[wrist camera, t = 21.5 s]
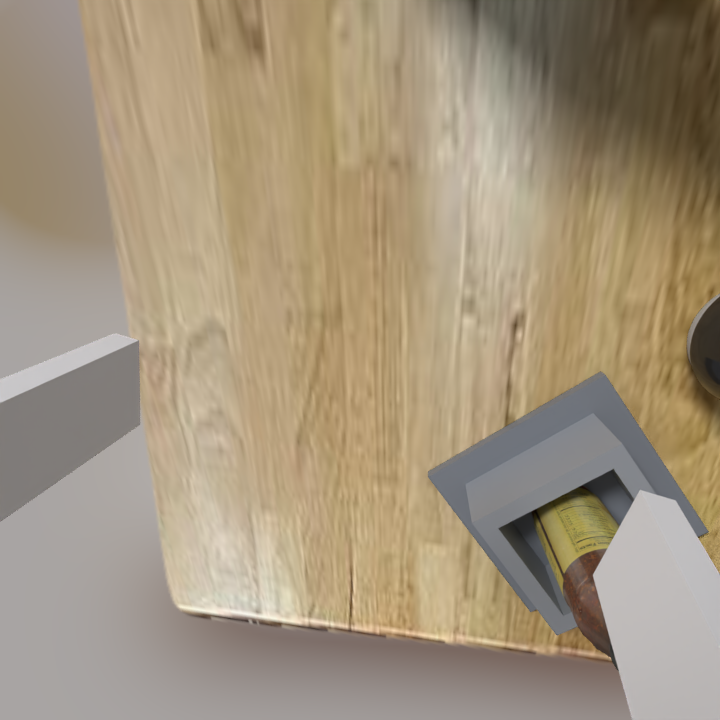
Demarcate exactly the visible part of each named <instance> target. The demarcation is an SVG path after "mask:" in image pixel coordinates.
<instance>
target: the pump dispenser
mask: <svg viewBox="0 0 720 720" xmlns="http://www.w3.org/2000/svg"><path fill="white" fill-rule="evenodd" d="M687 353H688V358H689V361H690V363H691V366H692V369H693V372H694V374H695V376H696V378H697V380H698V381H699V383H700V384H701V385H702V386H703V388H704V389H705V390H706V391H708V392H709V393H710V394H711V395H713V396H714V397H716V398H717V399H719V400H720V294H718V295H717V296H715V297H714V298H713V299H711V300H710V301H709V302H708V303H707V304H706V305H705V306H704V307H703V308H702V309H701V310H700V311H699V312H698V314H697V315H696V317H695V318H694V320H693V322H692V324H691V327H690V329H689V332H688V337H687Z"/></svg>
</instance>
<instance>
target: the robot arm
mask: <svg viewBox="0 0 720 720" xmlns="http://www.w3.org/2000/svg"><path fill="white" fill-rule="evenodd" d="M139 425H140V376H139V340H136V339H133V338H130V337H126V336H123V335H119V334H116V333H114V334H112V335H109V336H107V337H104V338H102V339H99V340H97V341H94V342H92V343H89V344H87V345H85V346H82V347H79V348H77V349H74V350H72V351H69V352H67V353H65V354H62V355H59V356H58V357H54V358H52V359H50V360H47V361H45V362H42V363H40V364H37V365H35V366H32V367H30V368H27V369H25V370H23V371H20V372H17V373H15V374H12V375H10V376H7V377H5V378H3V379H0V521H2V520H3V519H5V518H6V517H8V516H9V515H11V514H12V513H13V512H15V511H16V510H18V509H19V508H21V507H22V506H24V505H25V504H26V503H28V502H29V501H31V500H32V499H34V498H35V497H37V496H38V495H39V494H41V493H42V492H43V491H45V490H46V489H48V488H49V487H51V486H52V485H54V484H55V483H57V482H58V481H59V480H61V479H62V478H64V477H65V476H66V475H68V474H70V473H71V472H72V471H74V470H75V469H77V468H78V467H80V466H81V465H83V464H84V463H85V462H87V461H88V460H89V459H91V458H93V457H94V456H96V455H97V454H98V453H100V452H101V451H102V450H104V449H106V448H107V447H108V446H110V445H111V444H113V443H114V442H116V441H117V440H118V439H120V438H121V437H123V436H124V435H126V434H127V433H128V432H130V431H131V430H133V429H134V428H135V427H137V426H139ZM593 578H594V581H595V585H596V589H597V593H598V596H599V600H600V604H601V607H602V611H603V615H604V618H605V622H606V626H607V629H608V633H609V637H610V640H611V644H612V648H613V651H614V655H615V659H616V662H617V666H618V670H619V674H620V677H621V680H622V684H623V688H624V692H625V696H626V699H627V703H628V707H629V710H630V714H631V718H632V720H720V574H719V572H718V571H717V569H716V567H715V566H714V564H713V562H712V561H711V559H710V557H709V556H708V554H707V552H706V550H705V549H704V547H703V545H702V544H701V542H700V540H699V539H698V537H697V535H696V534H695V532H694V530H693V529H692V527H691V525H690V524H689V522H688V520H687V519H686V517H685V515H684V514H683V512H682V510H681V509H680V507H679V505H678V504H677V502H676V500H672V499H669V498H666V497H662V496H659V495H656V494H652V493H649V492H646V491H642V490H640V491H639V492H638V494H637V496H636V498H635V500H634V501H633V503H632V505H631V507H630V509H629V511H628V512H627V514H626V516H625V518H624V520H623V521H622V523H621V525H620V527H619V529H618V530H617V532H616V534H615V536H614V538H613V539H612V541H611V543H610V545H609V547H608V548H607V550H606V552H605V554H604V556H603V558H602V559H601V561H600V563H599V565H598V567H597V568H596V570H595V572H594V574H593Z"/></svg>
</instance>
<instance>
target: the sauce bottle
mask: <svg viewBox="0 0 720 720" xmlns="http://www.w3.org/2000/svg"><path fill="white" fill-rule="evenodd" d="M532 516H533V520H534V527H535V530H536V532H537V535H538V537H539V539H540V542H541V544H542V546H543V549H544V551H545V554H546V556H547V558H548V561H549V563H550V565H551V568H552V570H553V573H554V575H555V577H556V580H557V582H558V585H559V587H560V589H561V592H562V594H563V596H564V599H565V601H566V603H567V605H568V606H569V607H570V609H571V612H572V614H573V616H574V619H575V622H576V624H577V626H578V627H579V629H580V630H581V632H582V634H583V635H584V636H585V637H586V638H587V639H588V640H589V641H590V642H591V643H592V644H593V645H594V646H595V647H596V649H598V650H600V651H601V652H603V653H605V654H607V655H608V656H609V657H611V659H612V662H613V664H614V666H615V667H616V668H617V670H618V666H617V662H616V659H615V655H614V651H613V648H612V644H611V640H610V637H609V633H608V629H607V626H606V622H605V618H604V615H603V611H602V607H601V604H600V600H599V596H598V593H597V589H596V585H595V581H594V578H593V574H594V572H595V570H596V568H597V567H598V565H599V563H600V561H601V559H602V558H603V556H604V554H605V552H606V550H607V548H608V547H609V545H610V543H611V541H612V539H613V538H614V536H615V534H616V532H617V530H618V529H619V527H620V526H619V525H618V523H617V522H616V520H615V519H614V518H613V516H612V515H611V514H610V512H609V511H608V509H607V508H606V507H605V505H604V504H603V503H602V501H601V500H600V499H599V498H598V497H597V496H596V495H595V494H594V493H592V492H591V491H590V490H589V489H587V488H586V487H584V486H582V485H581V486H579V487H577V488H575V489H574V490H572V491H570V492H568V493H566V494H564V495H562V496H560V497H558V498H556V499H554V500H552V501H550V502H548V503H546V504H544V505H543V506H541V507H539V508H537V509H535V510H533V511H532ZM618 671H619V670H618Z"/></svg>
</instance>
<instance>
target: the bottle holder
mask: <svg viewBox="0 0 720 720" xmlns="http://www.w3.org/2000/svg"><path fill="white" fill-rule="evenodd" d="M428 477H429V479H430V480H431V481H432V483H433V484H434V485H435V487H436V488H437V489H438V491H439V492H440V493H441V495H442V496H443V497H444V499H445V500H446V501H447V502H448V504H449V505H450V506H451V508H452V509H453V510H454V512H455V513H456V514H457V516H458V517H459V518H460V520H461V521H462V522H463V524H464V525H465V526H466V528H467V529H468V530H469V531H470V533H471V534H472V535H473V537H474V538H475V539H476V541H477V542H478V543H479V545H480V546H481V547H482V549H483V550H484V551H485V553H486V554H487V555H488V557H489V558H490V559H491V560H492V562H493V563H494V564H495V566H496V567H497V568H498V570H499V571H500V572H501V574H502V575H503V576H504V578H505V579H506V580H507V582H508V583H509V584H510V586H511V587H512V588H513V589H514V591H515V592H516V593H517V595H518V596H519V597H520V599H521V600H522V601H523V603H524V604H525V605H526V607H527V608H528V609H529V611H530V612H532V611H534V610H536V609H537V610H538V611H539V613H540V614H541V615H542V617H543V618H544V619H545V621H546V622H547V623H548V625H549V626H550V627H551V629H552V630H553V631H554V632H555V634H556V635H559V634H561V633H564V632H566V631H568V630H571V629H573V628H575V627H578V626H577V624H576V622H575V619H574V616H573V614H572V612H571V609H570V607H569V606H568V605H567V603H566V601H565V599H564V596H563V594H562V592H561V589H560V587H559V585H558V582H557V580H556V577H555V575H554V573H553V570H552V568H551V565H550V563H549V561H548V558H547V556H546V554H545V551H544V549H543V546H542V544H541V542H540V539H539V537H538V535H537V532H536V530H535V527H534V520H533V516H532V511H533V510H535V509H537V508H539V507H541V506H543V505H544V504H546V503H548V502H550V501H552V500H554V499H556V498H558V497H560V496H562V495H564V494H566V493H568V492H570V491H572V490H574V489H575V488H577V487H579V486H581V485H582V486H584V487H586V488H587V489H589V490H590V491H591V492H592V493H594V494H595V495H596V496H597V497H598V498H599V499H600V500H601V501H602V503H603V504H604V505H605V507H606V508H607V509H608V511H609V512H610V514H611V515H612V516H613V518H614V519H615V520H616V522H617V523H618V525H619V526H620V525H621V523H622V521H623V520H624V518H625V516H626V514H627V512H628V511H629V509H630V507H631V505H632V503H633V501H634V500H635V498H636V496H637V494H638V492H639V491H640V490H642V491H646V492H649V493H652V494H656V495H659V496H662V497H666V498H669V499H672V500H676V502H677V504H678V505H679V507H680V509H681V510H682V512H683V514H684V515H685V517H686V519H687V520H688V522H689V524H690V525H691V527H692V529H693V530H694V532H695V534H696V535H697V537H699V536H701V535H703V534H705V533H708V530H707V529H706V527H705V526H704V524H703V522H702V521H701V519H700V518H699V516H698V515H697V513H696V512H695V510H694V509H693V507H692V506H691V504H690V503H689V501H688V500H687V498H686V497H685V495H684V494H683V492H682V491H681V489H680V488H679V486H678V485H677V483H676V482H675V480H674V478H673V477H672V475H671V474H670V472H669V471H668V469H667V468H666V466H665V465H664V463H663V462H662V460H661V459H660V457H659V456H658V454H657V453H656V451H655V450H654V448H653V447H652V445H651V444H650V442H649V441H648V439H647V438H646V436H645V435H644V433H643V431H642V430H641V428H640V427H639V425H638V424H637V422H636V421H635V419H634V418H633V416H632V415H631V413H630V412H629V410H628V409H627V407H626V406H625V404H624V403H623V401H622V400H621V398H620V397H619V395H618V394H617V392H616V391H615V389H614V387H613V386H612V384H611V383H610V381H609V380H608V378H607V377H606V375H605V374H603V373H602V372H599V373H597V374H595V375H594V376H592V377H590V378H589V379H587V380H585V381H583V382H582V383H580V384H578V385H577V386H575V387H573V388H571V389H570V390H568V391H566V392H564V393H563V394H561V395H559V396H558V397H556V398H554V399H552V400H551V401H549V402H547V403H546V404H544V405H542V406H540V407H539V408H537V409H535V410H533V411H532V412H530V413H528V414H527V415H525V416H523V417H521V418H520V419H518V420H516V421H515V422H513V423H511V424H509V425H508V426H506V427H504V428H502V429H501V430H499V431H497V432H496V433H494V434H492V435H490V436H489V437H487V438H485V439H484V440H482V441H480V442H478V443H477V444H475V445H473V446H471V447H470V448H468V449H466V450H465V451H463V452H461V453H459V454H458V455H456V456H454V457H453V458H451V459H449V460H447V461H446V462H444V463H442V464H440V465H439V466H437V467H435V468H434V469H432V470H430V471H428Z"/></svg>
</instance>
